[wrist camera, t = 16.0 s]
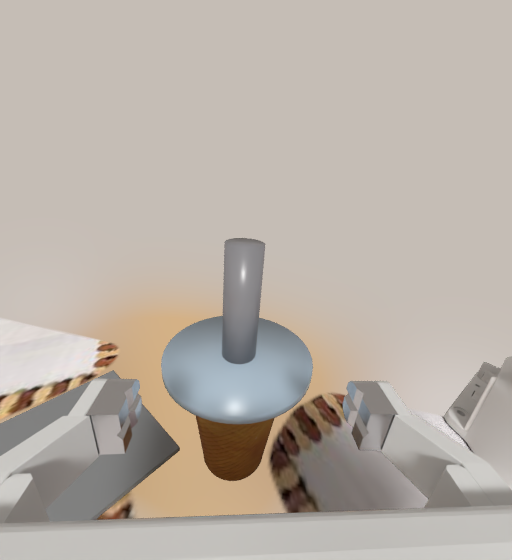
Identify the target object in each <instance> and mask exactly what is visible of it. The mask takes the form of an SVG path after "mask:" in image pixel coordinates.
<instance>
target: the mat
mask: <svg viewBox="0 0 512 560" xmlns="http://www.w3.org/2000/svg"><path fill="white" fill-rule="evenodd" d="M98 378H99V379H120V377H119V376H118V375H117V374H116V373H115V372H114V371H111V372H109V373H106V374H104V375H102V376H100V377H98ZM90 383H91V381H90V382H87V383H85V384H83V385H81V386H79V387H77V388H75V389H73V390H70V391H68V392H66V393H64V394H62V395H60V396H58V397H56V398H53V399H51V400H49V401H47V402H45V403H43V404H41V405H39V406H37V407H34V408H32V409H30V410H28V411H26V412H24V413H22V414H20V415H17V416H15V417H14V418H11V419H9V420H7V421H5V422H3V423H1V424H0V456H2V455H3V454H5V453H6V452H8V451H9V450H11V449H12V448H14V447H16V446H17V445H19V444H20V443H22V442H23V441H25V440H26V439H28V438H30V437H31V436H33V435H34V434H36V433H37V432H39V431H40V430H42V429H43V428H45V427H47V426H48V425H50V424H51V423H53V422H54V421H56V420H57V419H59V418H61V417H62V416H68V414H69V413H70V412H71V410H72V409H73V407H74V406H75V404H76V403H77V401H78V400H79V399H80V397H81V396H82V394H83V393H84V391H85V390H86V388H87V387H88V385H89V384H90ZM131 429H132V437H131V440H130V442H129V445H128V447H127V450H126V452H125V454H105V455H99V457H98V458H97V459H96V460H95V461H94V462H93V463H92V464H91V465H89V466H88V467H87V468H86V469H85V470H84V471H83V472H82V473H81V474H80V475H79V476H78V477H77V478H76V479H75V480H74V481H73V482H72V483H71V484H70V485H69V486H68V487H67V488H66V489H65V490H64V491H63V492H62V493H61V494H60V495H59V496H58V497H57V498H56V499H55V500H54V501H53V502H52V503H51V504H50V505H49V506H48V507H47V508H46V509H45V510H46V513H47V515H48V518H49V520H50V522H55V521H83V520H95V519H97V518H98V517H99V516H100V515H101V514H103V513H104V512H105V511H106V510H108V509H109V508H110V507H111V506H112V505H114V504H115V503H116V502H117V501H118V500H120V499H121V498H122V497H123V496H125V495H126V494H127V493H128V492H129V491H131V490H132V489H133V488H134V487H136V486H137V485H138V484H139V483H140V482H142V481H143V480H144V479H145V478H147V477H148V476H149V475H150V474H151V473H153V472H154V471H155V470H156V469H157V468H159V467H160V466H161V465H162V464H164V463H165V462H166V461H167V460H169V459H170V458H171V457H172V456H173V455H175V454H176V453H177V452H178V451H179V450H180V448H179V446H178V445H177V444H176V443H175V441H174V440H173V439H172V438H171V437H170V436H169V435H168V433H167V432H166V431H165V430H164V429H163V428H162V426H161V425H160V424H159V423H158V422H157V421H156V419H155V418H154V417H153V416H152V415H151V413H150V412H149V411H148V410H147V409H146V408H145V407H144V406H143V404H142V406H141V412H140V417H139V419H138V422H137V424H136V425H135V426H134V427H133V428H131Z"/></svg>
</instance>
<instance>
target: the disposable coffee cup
mask: <svg viewBox="0 0 512 560" xmlns="http://www.w3.org/2000/svg"><path fill="white" fill-rule="evenodd" d="M196 419H197V424H198V429H199V434H200V439H201V443H202V448H203V454H204V459H205V463H206V465H207V466H208V468H209V470H210V471H211V472H212V473H213V474H214V475H215V476H217V477H219V478H221V479H223V480H228V481H237V480H241V479H244V478H246V477H248V476H249V475H251V474H252V473H253V472H254V471H255V470H256V469H257V467H258V466H259V464H260V462H261V459H262V455H263V452H264V449H265V446H266V443H267V440H268V436H269V433H270V430H271V427H272V423H273V421H274V418H272V419H269V420H266V421H262V422H257V423H251V424H225V423H219V422H214V421H210V420H207V419H203V418H201V417H199V416H196Z"/></svg>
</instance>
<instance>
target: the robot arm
mask: <svg viewBox="0 0 512 560" xmlns="http://www.w3.org/2000/svg"><path fill="white" fill-rule="evenodd" d="M139 389H140V384H139V381H138V380H137V379H99V378H95V379H94V380H92V381H91V383H90V384H89V385H88V387H87V388H86V390H85V391H84V393H83V394H82V396H81V397H80V399H79V400H78V401H77V403H76V404H75V406H74V407H73V409H72V410H71V412H70V413H69V414H68V416H62V417H61V418H59V419H57V420H56V421H54V422H53V423H51V424H50V425H48V426H47V427H45V428H43V429H42V430H40V431H39V432H37V433H36V434H34V435H33V436H31V437H30V438H28V439H26V440H25V441H23V442H22V443H20V444H19V445H17V446H16V447H14V448H12V449H11V450H9V451H8V452H6V453H5V454H3V455H2V456H0V560H512V357H507V358H506V360H505V361H504V363H503V365H502V367H501V369H500V368H496V367H495V366H493V365H491V364H489V363H485V362H484V363H483V364H482V366H481V368H480V370H479V372H477V373H476V374H475V376H474V377H473V378H472V380H471V381H470V383H469V384H468V385H467V386H466V388H465V389H464V390H463V391H462V393H461V394H460V395H459V397H458V398H457V399H456V401H455V402H454V403H453V404H452V406H451V407H450V408H449V410H448V411H447V412H446V414H445V416H444V418H445V420H446V421H447V423H448V424H449V425H450V426H451V427H452V428H453V429H454V430H455V431H456V432H457V433H458V434H459V435H460V436H461V437H462V438H463V439H464V440H465V441H466V442H467V443H468V445H469V446H470V448H471V449H472V451H473V452H474V453H473V452H471V451H470V450H468V449H467V448H465V447H464V446H462V445H461V444H459V443H458V442H456V441H455V440H453V439H452V438H450V437H449V436H447V435H446V434H444V433H443V432H441V431H440V430H438V429H437V428H435V427H434V426H432V425H431V424H429V423H428V422H426V421H425V420H423V419H422V418H420V417H419V416H417V415H412V413H411V412H410V411H409V409H408V408H407V407H406V405H405V404H404V402H403V401H402V400H401V398H400V397H399V395H398V394H397V393H396V391H395V390H394V389H393V387H392V386H391V384H390V383H389V382H387V381H374V382H373V381H350V382H349V383H348V386H347V390H348V394H347V395H346V396H345V397H344V401H343V412H344V416H345V419H346V421H347V423H348V424H349V425H350V426H352V427H353V431H352V435H353V437H354V440H355V442H356V444H357V447H358V449H359V450H382V451H381V452H382V453H383V454H384V455H385V456H386V457H387V458H388V459H389V460H390V461H391V462H392V463H393V464H394V465H395V466H396V467H397V468H398V469H399V470H400V471H401V472H402V473H403V474H404V475H405V476H406V477H407V478H408V479H409V480H410V481H411V482H412V483H413V484H414V485H415V486H416V487H417V488H418V489H419V490H420V491H421V492H422V493H423V494H424V495H425V496H426V497H427V498H428V501H427V503H426V505H425V507H424V508H413V509H385V510H358V511H330V512H303V513H276V514H250V515H223V516H198V517H197V516H196V517H166V518H139V519H111V520H83V521H55V522H50V520H49V518H48V515H47V513H46V510H45V509H46V508H47V507H48V506H49V505H50V504H51V503H52V502H53V501H54V500H55V499H56V498H57V497H58V496H59V495H60V494H61V493H62V492H63V491H64V490H65V489H66V488H67V487H68V486H69V485H70V484H71V483H72V482H73V481H74V480H75V479H76V478H77V477H78V476H79V475H80V474H81V473H82V472H83V471H84V470H85V469H86V468H87V467H88V466H89V465H91V464H92V463H93V462H94V461H95V460H96V459H97V458H98V457H99V455H105V454H125V452H126V450H127V447H128V445H129V442H130V440H131V437H132V429H131V428H133V427H134V426H135V425H136V424H137V422H138V419H139V417H140V412H141V406H142V400H141V396H140V395H139V394H138V391H139Z"/></svg>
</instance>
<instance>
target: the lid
mask: <svg viewBox="0 0 512 560" xmlns="http://www.w3.org/2000/svg"><path fill="white" fill-rule="evenodd" d="M264 251H265V243H263V242H261V241H258V240H254V239H247V238H234V239H229V240H226V241H225V252H224V253H225V255H224V290H223V316H219V317H213V318H209V319H205V320H202V321H199V322H197V323H194V324H192V325H190V326H188V327H186V328H185V329H183V330H182V331H181V332H179V333H178V334H176V335H175V336H174V337H173V338H172V340H171V341H170V342H169V343H168V345H167V346H166V348H165V350H164V353H163V356H162V363H161V367H162V377H163V382H164V385H165V388H166V389H167V391H168V393H169V395H170V396H171V397H172V398H173V399H174V400H175V402H176V403H178V404H179V405H180V406H181V407H183V408H184V409H185V410H187V411H189V412H190V413H192V414H194V415H196V416H199V417H201V418H203V419H207V420H210V421H214V422H219V423H225V424H251V423H257V422H262V421H266V420H269V419H272V418H275V417H277V416H279V415H281V414H283V413H285V412H287V411H288V410H290V409H291V408H293V407H294V406H295V405H296V404H297V403H298V402H299V401H300V400H301V399H302V397H303V396H304V395H305V393H306V391H307V390H308V388H309V384H310V381H311V376H312V369H313V366H312V365H313V364H312V358H311V355H310V352H309V351H308V348H307V347H306V345H305V344H304V343H303V341H302V340H301V339H300V338H299V337H298V336H297V335H295V334H294V333H293V332H291V331H290V330H288V329H287V328H285V327H283V326H281V325H279V324H277V323H275V322H272V321H269V320H265V319H262V318H259V310H260V298H261V286H262V275H263V264H264Z"/></svg>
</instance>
